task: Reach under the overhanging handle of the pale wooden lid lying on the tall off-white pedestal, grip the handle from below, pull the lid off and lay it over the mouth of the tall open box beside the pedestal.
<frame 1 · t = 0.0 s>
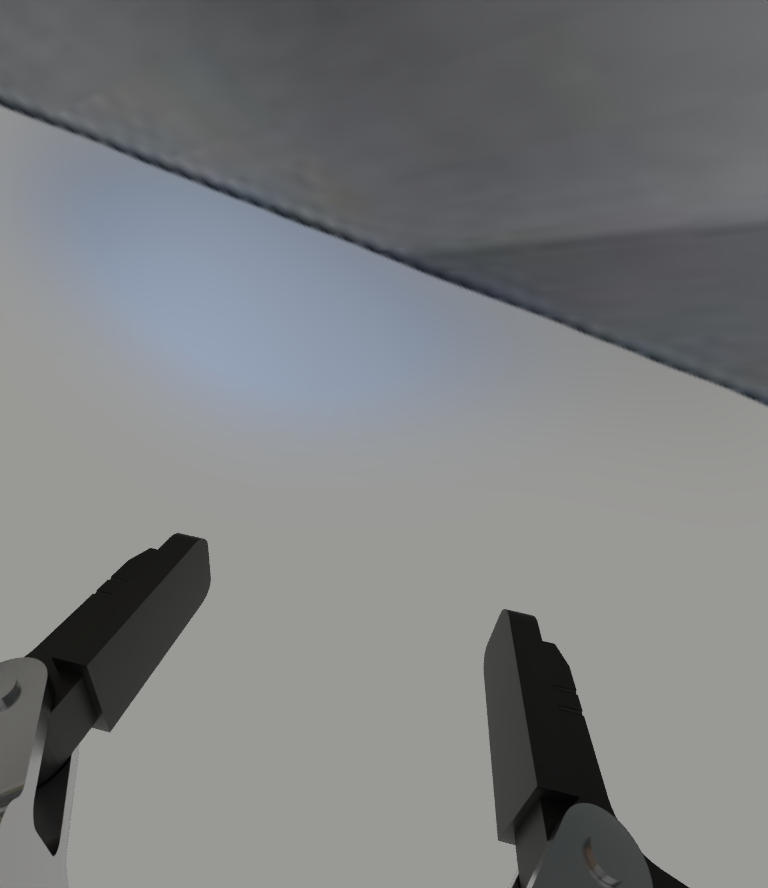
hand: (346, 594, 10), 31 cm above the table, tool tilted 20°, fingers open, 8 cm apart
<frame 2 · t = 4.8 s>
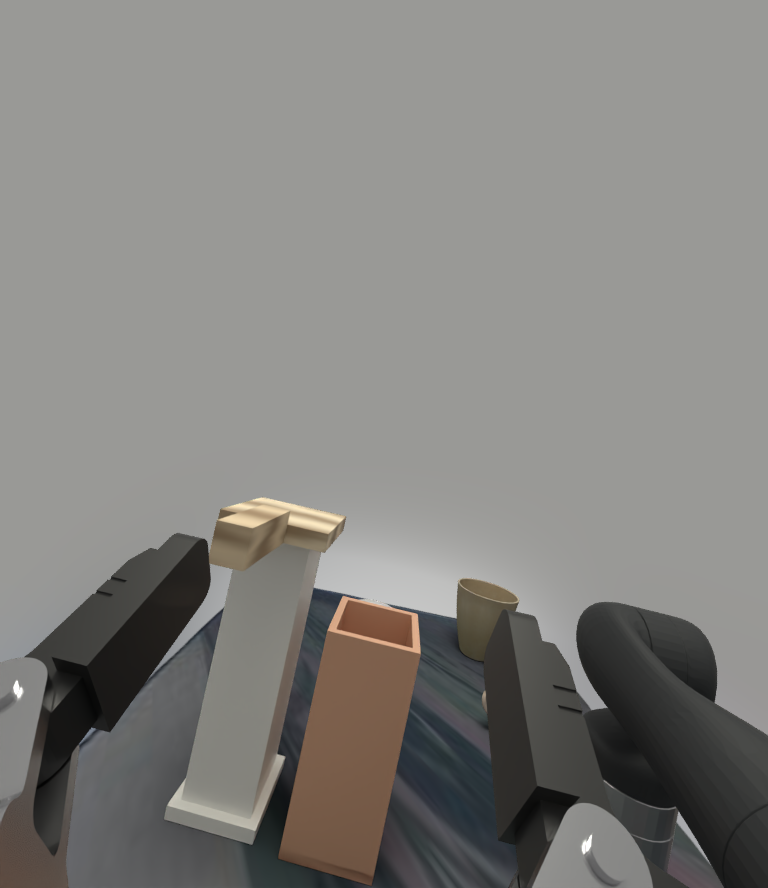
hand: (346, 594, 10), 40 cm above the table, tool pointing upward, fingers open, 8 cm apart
plant pot: (474, 653, 94), on the table
pedestal: (229, 790, 45), on the table
tall open box: (333, 825, 44), on the table
wooden lid: (287, 529, 46), point 32 cm above the table, touching pedestal
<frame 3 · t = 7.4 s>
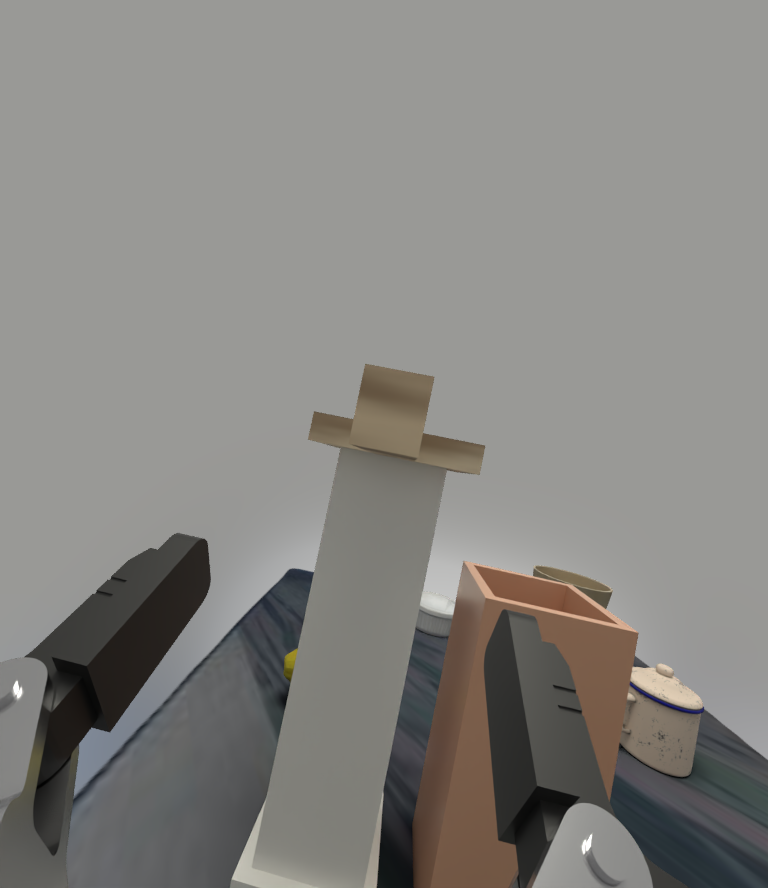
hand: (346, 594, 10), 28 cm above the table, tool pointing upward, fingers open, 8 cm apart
teacup with lid: (641, 752, 52), on the table
ramekin: (431, 627, 79), on the table
plant pot: (557, 654, 78), on the table
pedestal: (315, 848, 30), on the table
wooden lid: (395, 458, 32), point 32 cm above the table, touching pedestal
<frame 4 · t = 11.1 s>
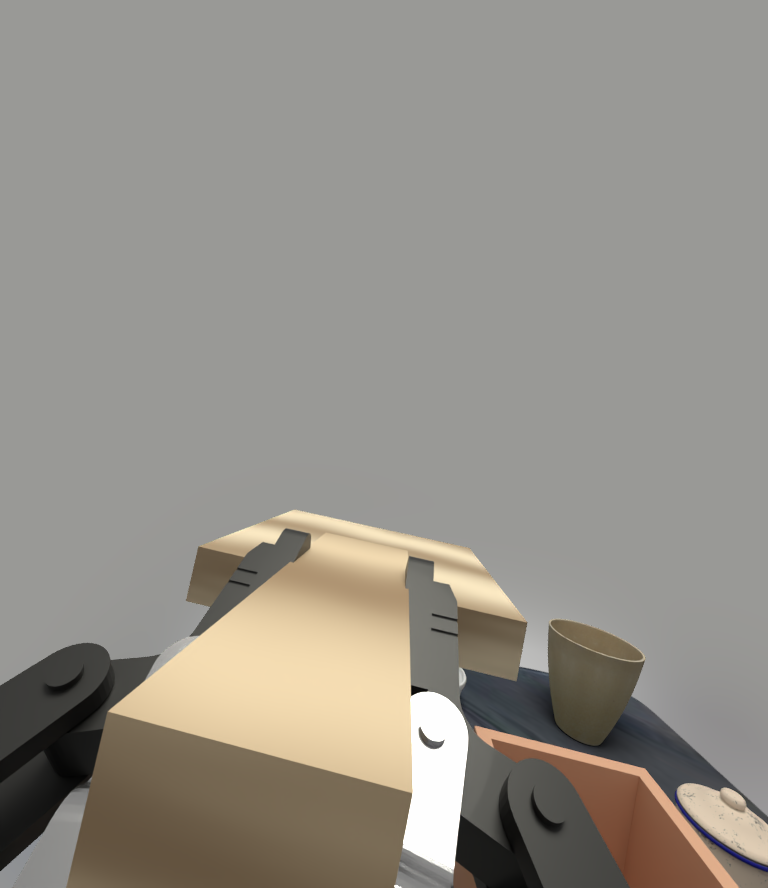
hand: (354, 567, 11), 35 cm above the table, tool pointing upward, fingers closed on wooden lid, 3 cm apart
plant pot: (578, 730, 66), on the table
wooden lid: (364, 586, 19), point 32 cm above the table, touching gripper, pedestal
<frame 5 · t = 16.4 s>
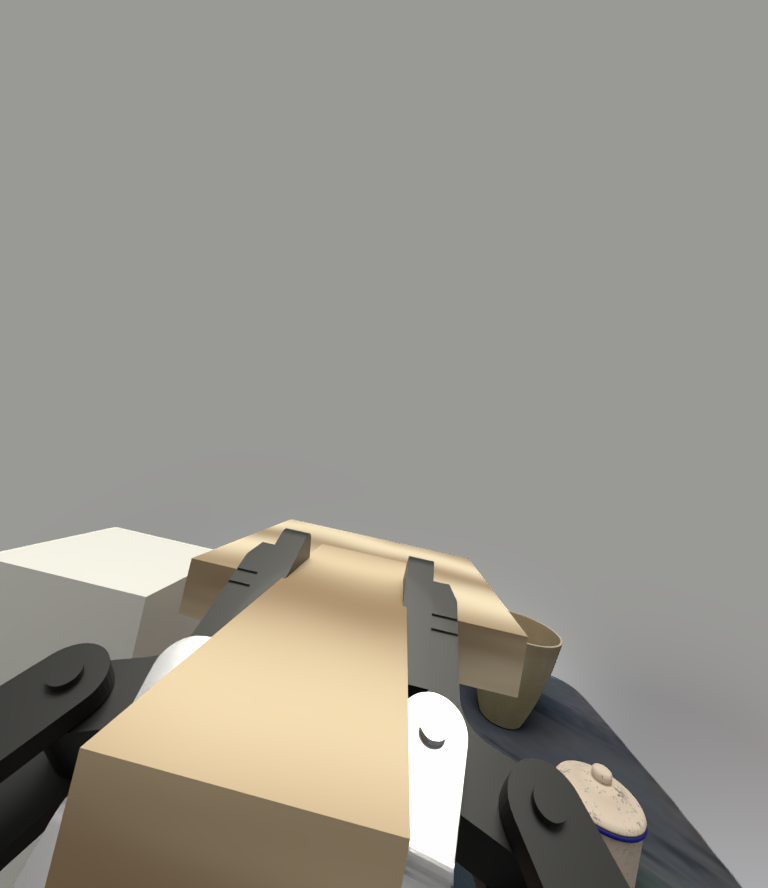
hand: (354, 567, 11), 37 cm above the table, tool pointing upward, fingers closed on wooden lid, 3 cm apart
teacup with lid: (571, 879, 41), on the table
plant pot: (500, 715, 67), on the table
wooden lid: (361, 598, 19), point 33 cm above the table, touching gripper
when the fingers open (28 cm above the table, at t = 18.5 s): wooden lid stays where it is, resting on tall open box.
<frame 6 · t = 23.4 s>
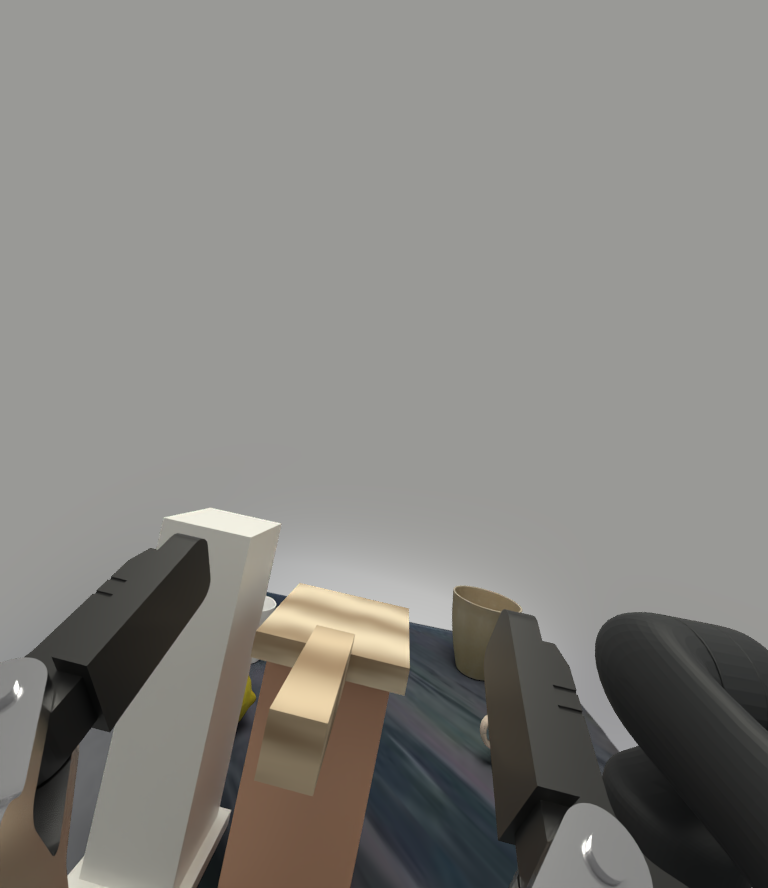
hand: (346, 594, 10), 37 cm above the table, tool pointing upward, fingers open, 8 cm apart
plant pot: (473, 671, 83), on the table
lemon: (209, 726, 53), on the table
white cup: (243, 656, 71), on the table
pedestal: (151, 860, 35), on the table
wooden lid: (339, 639, 34), point 24 cm above the table, touching tall open box
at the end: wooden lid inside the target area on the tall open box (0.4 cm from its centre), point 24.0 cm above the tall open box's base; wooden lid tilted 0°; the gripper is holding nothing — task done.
